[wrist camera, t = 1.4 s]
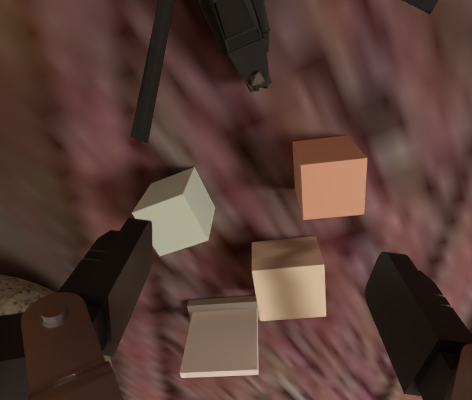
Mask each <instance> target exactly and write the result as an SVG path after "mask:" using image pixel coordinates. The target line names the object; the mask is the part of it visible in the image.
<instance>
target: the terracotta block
mask: <svg viewBox="0 0 472 400" xmlns="http://www.w3.org/2000/svg"><path fill="white" fill-rule="evenodd" d="M292 144H293V162H294V180H295V191H296V195H297V198H298V202H299V206H300V210H301V213H302V217H303V220H307V219H318V218H329V217H340V216H351V215H362V214H364V206H365V188H366V171H367V157H366V156H365V155H364V154H363V153H362V152H361V150H360V149H359V148H358V147H357V146H356V145H355V144H354V143H353V142H352V140H351V139H350V138H349V137H348V136H347V135H345V136H336V137H327V138H319V139H310V140H301V141H293V142H292Z"/></svg>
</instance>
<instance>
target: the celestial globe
mask: <svg viewBox="0 0 472 400" xmlns="http://www.w3.org/2000/svg"><path fill="white" fill-rule="evenodd" d="M54 293H56V292H55V291H53V290H50V289H48V288H46V287H44V286H42V285H39V284H36V283H33V282H30V281H27V280H23V279H20V278H16V277H11V276H6V275H0V316H1V315H9V314H17V313H22V312H25V310H26V309H27V308H28V307H29V306H30V305H31V304H32V303H34V302H35V301H37V300H38V299H40V298H42V297H44V296H47V295H50V294H54ZM103 356H104V358H105V361H109V362H110V364H111V366H112V363H111V359H110V356H105V355H103ZM112 369H113V367H112ZM113 372H114V371H113Z"/></svg>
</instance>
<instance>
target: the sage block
mask: <svg viewBox="0 0 472 400" xmlns="http://www.w3.org/2000/svg"><path fill="white" fill-rule="evenodd" d="M214 211H215V207H214V205H213V203H212V201H211V199H210V197H209V195H208V193H207V191H206V189H205V187H204V185H203V183H202V181H201V179H200V177H199V175H198V173H197V171H196V169H195V167H193V168H190V169H188V170H185V171H183V172H180V173H177V174H175V175H172V176H170V177H167V178H164V179H162V180H159V181H157V182H154V183H151V184H150V186H149V187H148V189H147V190H146V192H145V193H144V195H143V196H142V198H141V199H140V201H139V202H138V204H137V205H136V207H135V208H134V210H133V211H132V214H133V216H134V217H135V219H142V220H150V221H151V222H152V245H153V247H154V248H155V250H156V251H157V253H158V254H159V256H162V255H165V254H168V253H171V252H174V251H178V250H181V249H184V248H187V247H190V246H193V245H196V244H199V243H202V242H205V241H208V239H209V235H210V230H211V225H212V220H213V216H214Z"/></svg>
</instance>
